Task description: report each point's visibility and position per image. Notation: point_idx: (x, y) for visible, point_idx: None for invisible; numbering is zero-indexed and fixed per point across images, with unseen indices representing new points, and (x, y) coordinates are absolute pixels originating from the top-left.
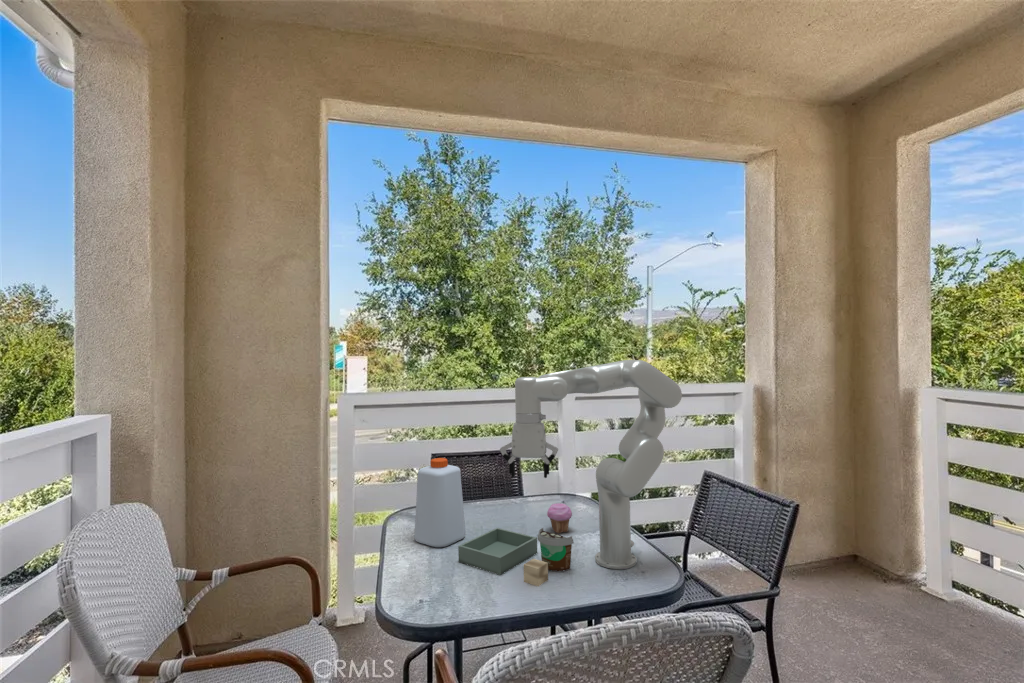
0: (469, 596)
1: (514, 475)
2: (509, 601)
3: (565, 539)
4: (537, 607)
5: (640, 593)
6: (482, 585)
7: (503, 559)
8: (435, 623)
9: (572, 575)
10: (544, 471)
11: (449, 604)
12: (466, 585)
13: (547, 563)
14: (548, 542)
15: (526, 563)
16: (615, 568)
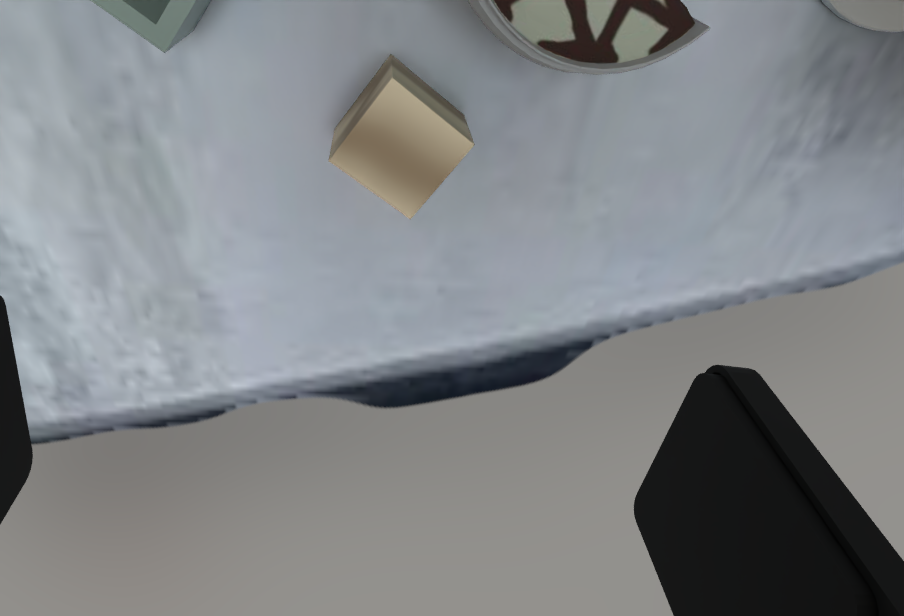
0: (80, 254)
1: (14, 394)
2: (274, 301)
3: (643, 62)
4: (389, 345)
5: (816, 266)
6: (114, 151)
7: (188, 17)
8: None
9: None
10: (681, 610)
11: (12, 313)
12: (24, 145)
13: (472, 145)
14: (513, 48)
15: (346, 146)
16: (857, 25)
